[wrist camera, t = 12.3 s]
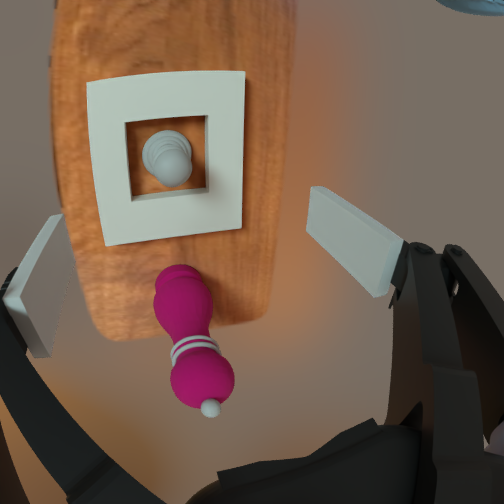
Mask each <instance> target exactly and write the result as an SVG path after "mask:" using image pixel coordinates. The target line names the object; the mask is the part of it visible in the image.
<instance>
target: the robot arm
mask: <svg viewBox="0 0 504 504" xmlns="http://www.w3.org/2000/svg"><path fill="white" fill-rule="evenodd" d="M436 1H438V2H439V3H440V4H442V5H444V6H446V7H449V8H451V9H453V10H455V11H459V12H463V13H468V14H473V15H483V16H504V0H436ZM306 232H308V233H309V234H310V235H311V236H312V237H313V238H314V239H315V240H316V241H317V242H318V243H319V244H320V245H321V246H322V247H323V248H324V249H326V251H328V253H330V254H331V255H332V256H333V257H334V258H335V259H336V260H337V261H338V262H339V263H340V264H341V265H342V266H343V267H344V268H345V269H346V270H347V271H348V272H349V273H350V274H351V275H352V276H353V277H354V278H355V279H356V280H357V281H358V282H359V283H360V284H361V285H362V286H363V287H364V288H365V289H366V290H367V291H368V292H369V293H370V294H371V295H372V296H373V297H374V298H376V297H380V296H383V295H386V294H387V292H388V289H389V286H390V283H392V284H393V285H394V286H395V287H396V288H395V291H394V294H393V296H392V299H391V302H390V304H389V308H391V306H392V305H393V351H392V370H391V382H390V394H389V404H388V412H387V417H386V420H385V423H384V425H377V423H376V422H375V420H374V419H373V418H371V419H369V420H367V421H365V422H363V423H361V424H358V425H356V426H354V427H352V428H350V429H348V430H345V431H343V432H341V433H339V434H338V435H337V436H335V437H334V438H333V439H331V440H330V441H329V442H327V443H326V444H325V445H323V446H322V447H321V448H319V449H318V450H316V451H315V452H313V453H312V454H311V455H309V456H307V457H302V458H294V459H284V460H272V461H259V462H255V463H252V464H248V465H244V466H240V467H236V468H232V469H228V470H223V471H218V472H217V475H218V479H219V480H217V481H215V482H213V483H211V484H209V485H207V486H206V487H204V488H203V489H201V490H200V491H198V492H197V493H196V494H195V495H193V496H192V497H191V498H190V499H189V500H188V501H187V503H186V504H504V301H503V300H502V298H501V297H500V296H499V294H498V293H497V291H496V290H495V288H494V287H493V286H492V284H491V283H490V281H489V280H488V279H487V277H486V276H485V275H484V273H483V272H482V271H481V270H480V268H479V267H478V266H477V264H476V263H475V262H474V261H473V259H472V258H471V257H470V256H469V254H468V253H467V252H466V251H465V250H463V249H462V248H461V247H460V246H457V245H452V244H447V245H446V246H445V248H444V251H443V254H436V253H435V251H434V250H433V249H432V248H431V247H429V246H428V245H426V244H423V243H418V242H412V243H410V244H409V243H407V242H406V241H405V240H403V239H402V238H401V237H399V236H397V235H396V234H395V233H393V232H392V231H391V230H389V229H388V228H386V227H385V226H383V225H382V224H381V223H379V222H377V221H376V220H375V219H373V218H372V217H370V216H369V215H367V214H366V213H364V212H363V211H361V210H360V209H358V208H357V207H355V206H354V205H352V204H350V203H349V202H347V201H346V200H344V199H343V198H341V197H339V196H338V195H336V194H335V193H333V192H332V191H330V190H328V189H327V188H325V187H323V186H313V187H311V193H310V202H309V211H308V219H307V227H306ZM75 262H76V261H75V258H74V254H73V251H72V247H71V243H70V239H69V235H68V231H67V227H66V223H65V218H64V214H59V215H54V216H50V217H49V219H48V220H47V222H46V223H45V225H44V227H43V228H42V229H41V231H40V232H39V234H38V236H37V237H36V239H35V241H34V242H33V244H32V245H31V247H30V249H29V250H28V252H27V254H26V255H25V257H24V259H23V260H22V262H21V264H20V266H19V267H16V268H14V269H13V270H12V271H11V272H10V274H8V276H7V278H6V280H5V282H4V284H3V285H2V287H1V290H0V395H1V397H2V399H3V401H4V403H5V405H6V407H7V409H8V410H9V412H10V414H11V416H12V418H13V419H14V421H15V423H16V424H17V426H18V428H19V429H20V431H21V433H22V434H23V436H24V437H25V439H26V441H27V442H28V444H29V445H30V447H31V448H32V450H33V451H34V452H35V454H36V455H37V457H38V458H39V460H40V461H41V462H42V464H43V465H44V467H45V468H46V469H47V471H48V472H49V473H50V474H51V476H52V477H53V478H54V480H55V481H56V482H57V483H58V484H59V486H60V487H61V488H62V489H63V491H64V492H65V493H66V495H67V498H66V500H67V502H68V504H166V503H165V502H164V501H162V500H161V499H160V498H158V497H157V496H156V495H154V494H153V493H151V492H150V491H149V490H148V489H147V488H145V487H144V486H143V485H141V484H140V483H139V482H138V481H137V480H135V479H134V478H133V477H132V476H131V475H130V474H128V473H127V472H126V471H125V470H124V469H123V468H122V467H120V466H119V465H118V464H117V463H116V462H115V461H114V460H113V459H112V458H110V457H109V456H108V455H107V454H106V453H105V452H104V451H103V450H102V449H101V448H100V447H99V446H98V445H97V444H96V443H95V442H94V441H93V440H92V439H91V438H90V437H89V436H88V434H87V433H86V432H85V431H84V430H83V429H82V428H81V427H80V426H79V425H78V423H77V422H76V421H75V420H74V419H73V418H72V417H71V416H70V414H69V413H68V412H67V411H66V409H65V408H64V407H63V406H62V405H61V403H60V402H59V401H58V400H57V398H56V397H55V396H54V395H53V393H52V392H51V391H50V389H49V388H48V387H47V385H46V384H45V383H44V381H43V380H42V379H41V377H40V376H39V374H38V373H37V371H36V370H35V368H34V367H33V365H32V364H31V362H30V361H29V359H28V358H27V356H26V351H27V348H28V349H29V350H30V352H31V353H32V355H33V357H34V358H45V357H51V354H52V349H53V344H54V339H55V334H56V330H57V326H58V321H59V317H60V313H61V309H62V305H63V302H64V298H65V295H66V291H67V288H68V284H69V281H70V278H71V275H72V271H73V268H74V265H75ZM457 284H458V285H459V287H458V292H457V294H456V295H455V293H454V291H455V288H456V286H457ZM483 434H484V436H485V439H486V440H487V442H488V444H489V445H488V446H487V447H486V448H485V449H484V441H483V440H484V439H483ZM0 504H30V503H29V501H28V499H27V496H26V494H25V492H24V490H23V487H22V485H21V483H20V480H19V477H18V475H17V472H16V470H15V467H14V465H13V461H12V459H11V456H10V453H9V450H8V446H7V443H6V440H5V437H4V433H3V430H2V426H1V422H0Z"/></svg>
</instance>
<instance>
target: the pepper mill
mask: <svg viewBox="0 0 504 504" xmlns="http://www.w3.org/2000/svg"><path fill="white" fill-rule="evenodd" d="M155 288H156V294H155V297H154V302H153V306H154V311H155V315H156V317H157V319H158V321H159V323H160V325H161V326H162V327H163V328H164V329H165V331H166V332H167V333H168V334H169V335H170V336H171V338H172V340H173V343H174V347H173V348H172V350H171V359H172V365H173V369H172V371H171V377H170V381H171V386H172V389H173V391H174V393H175V395H176V396H177V398H178V399H179V400H180V401H181V402H183V403H184V404H186V405H188V406H190V407H193V408H199V409H201V411H202V413H203V414H204V415H205V416H207V417H210V418H213V417H216V416H218V415H219V413H220V412H221V405H220V404H221V403H223V402H224V401H225V400H226V399H227V398H228V397H229V396H230V394H231V393H232V391H233V388H234V372H233V369H232V367H231V365H230V363H229V362H228V361H227V360H226V359H225V358H224V357H222V354H221V351H220V350H219V345H218V344H217V342H216V341H215V340H214V339H212V338H211V337H210V334H209V330H208V327H209V323H210V320H211V317H212V312H213V302H212V297H211V293H210V291H209V290H208V288H207V287H206V286H205V285H204V284H203V282H202V279H201V277H200V275H199V273H198V272H197V271H196V270H195V269H194V268H192V267H190V266H187V265H173V266H170V267H168V268H166V269H164V270H163V271H162V272H161V273H160V274H159V275H158V277H157V279H156V283H155Z"/></svg>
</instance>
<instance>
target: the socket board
mask: <svg viewBox="0 0 504 504" xmlns="http://www.w3.org/2000/svg"><path fill="white" fill-rule="evenodd" d="M244 95H245V71H180V72H164V73H151V74H141V75H132V76H124V77H117V78H110V79H104V80H98V81H93V82H87V110H88V127H89V140H90V151H91V160H92V169H93V177H94V184H95V191H96V197H97V203H98V209H99V215H100V220H101V226H102V231H103V236H104V241H105V245H106V246H112V245H119V244H126V243H133V242H140V241H147V240H154V239H161V238H169V237H176V236H184V235H191V234H199V233H207V232H215V231H223V230H231V229H239V228H242V176H243V132H244ZM198 115H205V175H206V188H196V189H186V190H177V191H168V192H160V193H152V194H144V195H137V196H132V191H131V181H130V171H129V160H128V148H127V132H126V122H131V121H139V120H148V119H157V118H168V117H181V116H198Z"/></svg>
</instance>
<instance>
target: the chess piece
mask: <svg viewBox="0 0 504 504" xmlns="http://www.w3.org/2000/svg"><path fill="white" fill-rule="evenodd" d="M142 159H143V163H144V166H145V167H146V169H147V170H148V171H149V172H150V173H151V174H152V175H154V176H156V178H157V179H158V181H159V182H160V183H162V184H163V185H165V186H167V187H177V186H179V185H181V184H183V183H184V182H186V181H187V180H188V178H189V177H190V175H191V172H192V163H191V160H190V159H191V147H190V144H189V142H188V140H187V139H186V138H185V137H184V136H183V135H182V134H180V133H178V132H176V131H172V130H165V131H160V132H158V133H156V134H154V135H153V136H151V137H150V138H149V139H148V141H147V142H146V144H145V146H144V148H143V152H142Z"/></svg>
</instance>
